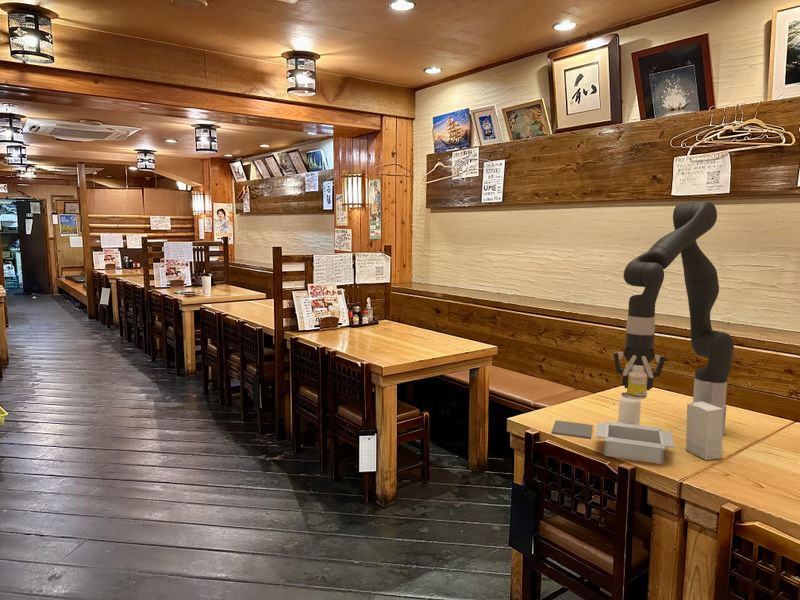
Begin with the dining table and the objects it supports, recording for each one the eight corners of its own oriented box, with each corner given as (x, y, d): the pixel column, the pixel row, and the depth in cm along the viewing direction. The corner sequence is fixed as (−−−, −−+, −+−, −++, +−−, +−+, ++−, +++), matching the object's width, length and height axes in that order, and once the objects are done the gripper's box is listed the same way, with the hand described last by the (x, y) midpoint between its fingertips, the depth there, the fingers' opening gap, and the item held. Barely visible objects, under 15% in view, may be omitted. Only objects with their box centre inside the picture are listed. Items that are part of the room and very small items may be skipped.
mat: (592, 426, 185) (592, 424, 185) (590, 439, 174) (590, 437, 174) (555, 421, 190) (555, 420, 190) (551, 433, 179) (551, 431, 178)
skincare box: (722, 459, 159) (726, 409, 158) (704, 461, 158) (708, 410, 156) (700, 448, 168) (704, 400, 166) (683, 449, 166) (686, 401, 164)
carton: (668, 446, 169) (670, 429, 168) (673, 469, 152) (675, 449, 152) (596, 436, 176) (597, 420, 175) (594, 457, 160) (595, 439, 159)
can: (640, 434, 178) (643, 398, 177) (619, 433, 180) (621, 397, 178) (636, 427, 185) (638, 392, 183) (616, 426, 186) (618, 391, 184)
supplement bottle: (631, 393, 166) (633, 361, 165) (649, 397, 162) (651, 364, 161) (623, 396, 162) (625, 364, 161) (642, 400, 158) (644, 367, 157)
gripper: (666, 331, 161) (663, 388, 163) (613, 327, 166) (610, 382, 168) (668, 335, 154) (665, 395, 156) (613, 331, 159) (610, 389, 161)
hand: (636, 388), depth 162 cm, fingers closed on supplement bottle, 5 cm apart
